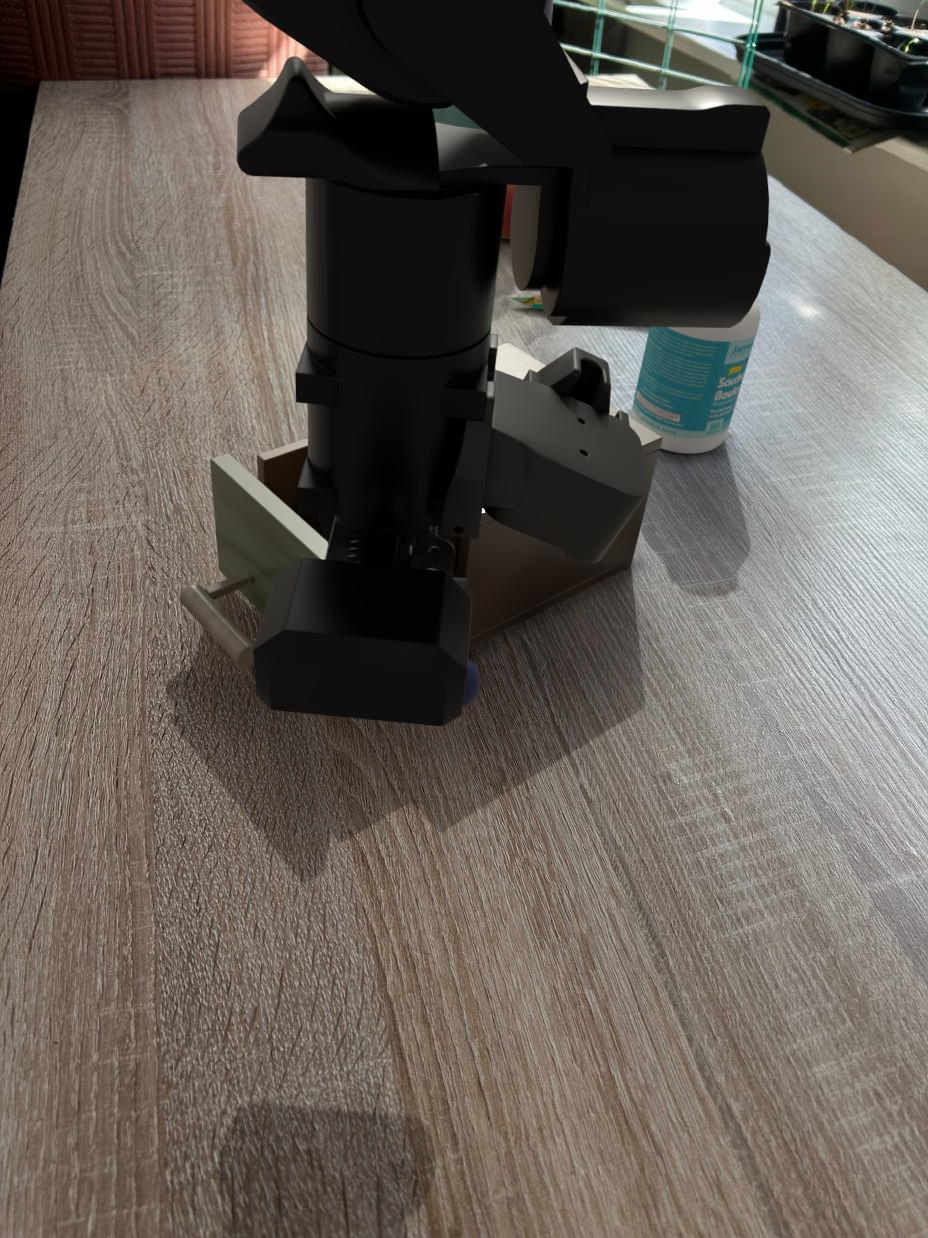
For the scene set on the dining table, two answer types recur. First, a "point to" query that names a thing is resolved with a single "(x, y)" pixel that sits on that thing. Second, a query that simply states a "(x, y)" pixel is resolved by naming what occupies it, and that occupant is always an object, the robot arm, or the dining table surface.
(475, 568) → the cabinet
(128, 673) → the dining table surface
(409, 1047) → the dining table surface
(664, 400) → the pill bottle
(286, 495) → the drawer
